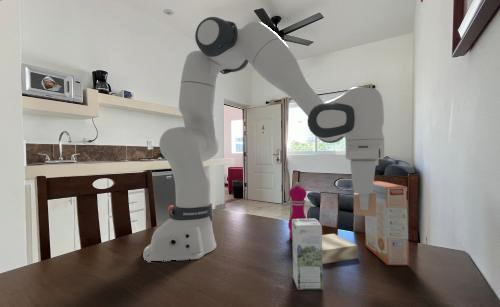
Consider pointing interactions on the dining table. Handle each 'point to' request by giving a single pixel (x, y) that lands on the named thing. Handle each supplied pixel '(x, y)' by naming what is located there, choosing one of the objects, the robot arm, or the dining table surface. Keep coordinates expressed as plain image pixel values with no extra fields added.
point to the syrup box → (307, 254)
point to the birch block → (337, 249)
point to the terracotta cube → (371, 205)
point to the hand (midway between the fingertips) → (364, 206)
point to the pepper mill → (297, 204)
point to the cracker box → (389, 224)
